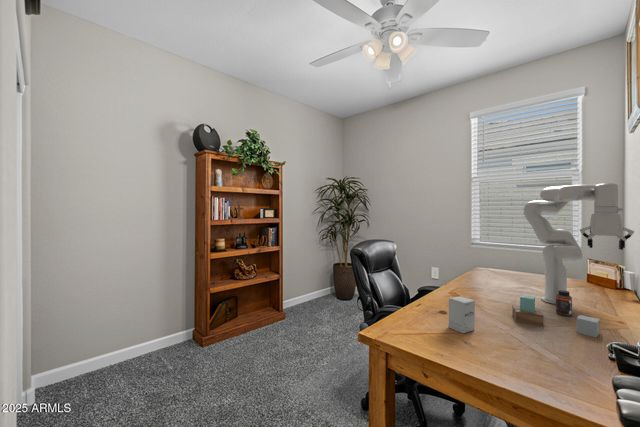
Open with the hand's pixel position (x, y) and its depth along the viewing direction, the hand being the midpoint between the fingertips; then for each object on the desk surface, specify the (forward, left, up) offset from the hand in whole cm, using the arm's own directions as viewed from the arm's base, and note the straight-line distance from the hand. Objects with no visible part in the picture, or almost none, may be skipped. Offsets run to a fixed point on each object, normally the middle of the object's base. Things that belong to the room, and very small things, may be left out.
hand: (605, 248), depth 127 cm
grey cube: (+21, -8, -33) cm, 40 cm away
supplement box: (+49, -50, -34) cm, 78 cm away
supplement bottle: (-1, -14, -34) cm, 36 cm away
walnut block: (+19, -28, -34) cm, 48 cm away
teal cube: (+19, -28, -29) cm, 45 cm away
